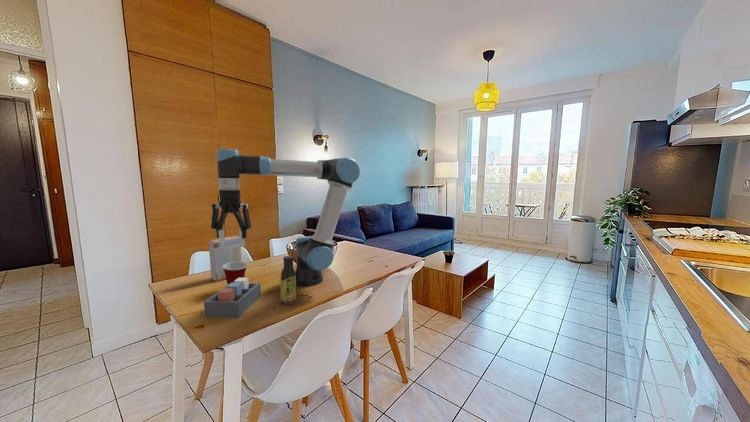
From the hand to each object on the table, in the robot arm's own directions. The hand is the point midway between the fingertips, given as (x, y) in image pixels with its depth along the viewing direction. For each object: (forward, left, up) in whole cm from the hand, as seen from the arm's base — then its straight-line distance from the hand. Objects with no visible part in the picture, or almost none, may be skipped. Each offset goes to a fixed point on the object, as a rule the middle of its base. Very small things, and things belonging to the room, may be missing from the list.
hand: (232, 245), depth 115 cm
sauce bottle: (-21, -4, -25) cm, 33 cm away
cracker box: (+21, -33, -25) cm, 47 cm away
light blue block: (0, 0, -21) cm, 21 cm away
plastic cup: (+8, -17, -25) cm, 32 cm away
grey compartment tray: (0, 0, -25) cm, 25 cm away
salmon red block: (0, +6, -21) cm, 22 cm away
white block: (0, -6, -21) cm, 22 cm away
